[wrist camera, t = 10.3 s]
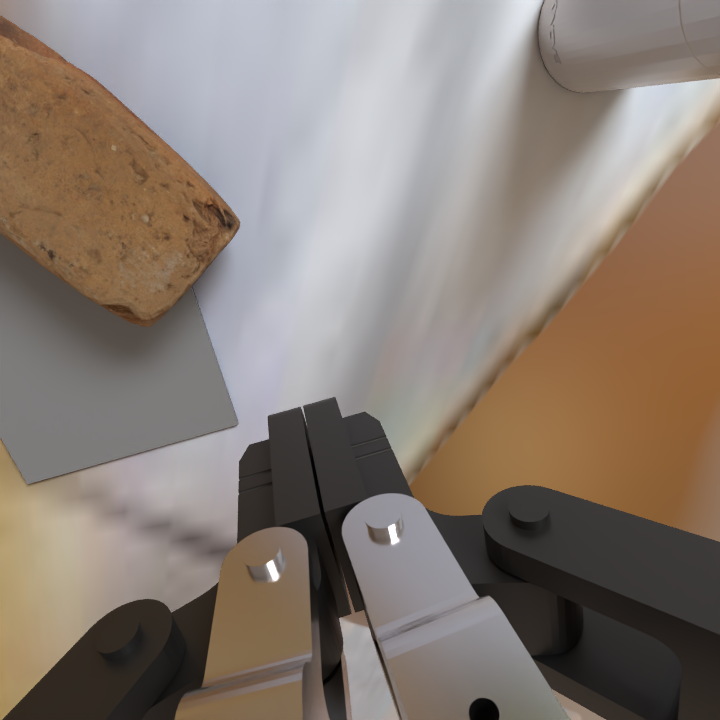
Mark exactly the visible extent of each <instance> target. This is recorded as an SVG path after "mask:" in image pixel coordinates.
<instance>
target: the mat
mask: <svg viewBox="0 0 720 720" xmlns="http://www.w3.org/2000/svg"><path fill="white" fill-rule="evenodd" d="M235 425H238V420H237V417H236V414H235V411H234V408H233V405H232V402H231V399H230V396H229V393H228V390H227V388H226V385H225V382H224V379H223V376H222V373H221V370H220V367H219V364H218V361H217V358H216V355H215V352H214V350H213V347H212V344H211V341H210V338H209V335H208V332H207V329H206V326H205V323H204V320H203V317H202V314H201V311H200V309H199V306H198V303H197V300H196V297H195V294H194V291H193V288H192V286H191V287H190V289H189V290H188V291H187V292H186V293H185V294H184V295H183V297H182V298H181V299H180V300H179V301H178V302H177V303H176V304H175V305H174V306H173V307H171V308H170V309H169V311H168V312H167V313H166V314H165V315H164V316H163V317H162V318H161V319H160V320H158V321H157V322H156V323H154V324H153V325H152V326H150V327H142V326H140V325H136V324H132V323H130V322H128V321H126V320H124V319H123V318H121V317H119V316H117V315H115V314H113V313H112V312H110V311H108V310H107V309H105V308H104V307H102V306H100V305H98V304H96V303H95V302H93V301H91V300H89V299H88V298H87V297H85V296H84V295H82V294H81V293H80V292H78V291H77V290H75V289H74V288H73V287H71V286H70V285H68V284H67V283H65V282H64V281H62V280H61V279H60V278H58V277H57V276H55V275H54V274H53V273H51V272H50V271H48V270H47V269H46V268H44V267H43V266H41V265H40V264H39V263H37V262H36V261H35V260H34V259H33V258H32V257H30V256H29V255H27V254H26V253H25V252H23V251H22V250H21V249H20V248H19V247H18V246H16V245H15V244H14V243H12V242H11V241H9V240H8V239H7V238H5V237H4V236H3V235H2V234H1V233H0V438H1V439H2V441H3V443H4V445H5V446H6V448H7V450H8V451H9V453H10V455H11V457H12V458H13V460H14V462H15V464H16V465H17V467H18V469H19V470H20V472H21V474H22V476H23V477H24V479H25V481H26V483H27V484H30V483H34V482H38V481H41V480H45V479H48V478H52V477H55V476H59V475H62V474H66V473H69V472H73V471H76V470H80V469H83V468H87V467H90V466H94V465H98V464H101V463H105V462H108V461H112V460H115V459H119V458H122V457H126V456H129V455H133V454H136V453H140V452H143V451H147V450H151V449H154V448H158V447H161V446H165V445H168V444H172V443H175V442H179V441H182V440H186V439H189V438H193V437H196V436H200V435H203V434H207V433H211V432H214V431H218V430H221V429H225V428H228V427H232V426H235Z"/></svg>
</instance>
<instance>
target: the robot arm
mask: <svg viewBox="0 0 720 720" xmlns="http://www.w3.org/2000/svg"><path fill="white" fill-rule="evenodd" d="M538 39H539V47H540V53H541V56H542V59H543V62H544V65H545V66H546V68H547V70H548V72H549V73H550V75H551V76H552V77H553V78H554V79H555V80H556V82H557V83H558V84H560V85H562V86H563V87H565V88H566V89H569V90H572V91H575V92H597V91H606V90H615V89H626V88H635V87H644V86H653V85H662V84H671V83H680V82H689V81H698V80H707V79H716V78H720V0H545V1H544V4H543V6H542V10H541V15H540V20H539V33H538ZM303 408H304V413H305V418H306V422H305V418H304V415H303V412H302V409H301V407H298V408H294V409H291V410H287V411H283V412H280V413H276V414H273V415H269V416H268V428H269V439H268V440H265V441H261V442H257V443H254V444H250V445H249V446H248V448H247V450H246V451H245V453H244V455H243V456H242V458H241V460H240V461H239V480H240V481H239V495H238V537H237V544H236V545H235V546H234V547H233V548H232V550H231V551H230V552H229V553H228V555H227V556H226V558H225V559H224V562H223V564H222V567H221V571H220V577H219V582H218V583H217V584H216V585H215V586H214V587H212V588H211V589H210V590H209V591H207V592H206V593H204V594H203V595H201V596H200V597H198V598H196V599H194V600H193V601H191V602H189V603H188V604H186V605H184V606H182V607H181V608H179V609H177V610H176V611H174V612H172V613H171V612H170V610H169V609H168V607H167V606H166V605H165V604H164V603H162V602H160V601H157V600H153V599H143V600H137V601H133V602H130V603H127V604H125V605H122V606H120V607H118V608H116V609H114V610H113V611H111V612H110V613H108V614H107V615H105V616H104V617H103V618H101V619H100V620H99V621H98V622H97V623H96V624H94V625H93V626H92V627H91V628H90V629H89V630H88V631H87V632H86V633H85V635H84V636H83V637H82V638H81V639H80V640H79V641H78V642H77V643H76V644H75V645H74V646H73V647H72V648H71V649H70V650H69V651H68V652H67V653H66V654H65V655H64V656H63V657H62V658H61V659H60V660H59V661H58V663H57V664H56V665H55V666H54V667H53V668H52V669H51V670H50V671H49V672H48V673H47V674H46V675H45V676H44V677H43V678H42V679H41V680H40V681H39V682H38V683H37V684H36V685H35V686H34V687H33V688H32V689H31V690H30V692H29V693H28V694H27V695H26V696H25V697H24V698H23V699H22V700H21V701H20V702H19V703H18V704H17V705H16V706H15V707H14V708H13V709H12V710H11V711H10V712H9V713H8V714H7V715H6V716H5V717H4V718H3V720H352V713H351V703H350V694H349V684H348V674H347V664H346V659H345V655H344V652H343V637H342V632H341V626H340V621H339V618H340V617H344V616H347V615H350V614H351V609H350V604H349V600H348V595H347V590H346V586H345V581H346V584H347V587H348V590H349V594H350V597H351V600H352V604H353V607H354V610H355V612H358V611H362V610H364V611H365V615H366V618H367V622H368V625H369V628H370V631H371V635H372V639H373V642H374V645H375V649H376V652H377V655H378V658H379V661H380V664H381V667H382V670H383V673H384V676H385V679H386V682H387V685H388V688H389V691H390V694H391V697H392V700H393V703H394V706H395V709H396V712H397V715H398V718H399V720H570V718H569V716H568V715H567V713H566V712H565V710H564V708H563V707H562V705H561V704H560V702H559V700H558V699H557V697H556V696H555V694H554V693H553V691H552V689H553V690H555V691H557V692H558V693H560V694H562V695H564V696H566V697H567V698H569V699H571V700H573V701H574V702H576V703H578V704H580V705H581V706H583V707H585V708H587V709H589V710H590V711H592V712H594V713H596V714H597V715H599V716H601V717H603V718H605V719H606V720H720V542H718V541H715V540H712V539H708V538H705V537H702V536H699V535H695V534H692V533H689V532H686V531H683V530H679V529H677V528H673V527H670V526H667V525H664V524H661V523H657V522H654V521H651V520H648V519H645V518H642V517H638V516H635V515H632V514H629V513H626V512H622V511H619V510H616V509H613V508H610V507H606V506H603V505H600V504H597V503H593V502H590V501H587V500H584V499H581V498H577V497H574V496H571V495H568V494H565V493H562V492H559V491H555V490H552V489H549V488H545V487H541V486H531V485H525V486H516V487H511V488H508V489H505V490H503V491H501V492H499V493H497V494H496V495H494V496H493V497H492V498H491V499H490V500H489V501H488V502H487V503H486V505H485V507H484V509H483V512H482V515H469V516H449V515H443V514H439V513H435V512H433V511H430V510H428V509H426V508H424V506H423V505H422V504H421V503H420V502H419V501H418V500H416V499H415V498H414V496H413V495H412V493H411V490H410V488H409V486H408V484H407V481H406V479H405V477H404V475H403V473H402V470H401V468H400V466H399V464H398V461H397V459H396V457H395V455H394V453H393V450H392V449H391V446H390V444H389V441H388V439H387V438H386V435H385V433H384V430H383V428H382V426H381V424H380V421H378V420H377V419H375V418H374V417H372V416H370V415H369V414H367V413H366V412H362V413H359V414H355V415H352V416H348V417H345V418H342V416H341V413H340V410H339V407H338V404H337V401H336V398H335V397H333V398H329V399H326V400H322V401H319V402H315V403H312V404H308V405H304V406H303ZM306 423H307V425H306ZM342 571H343V572H342ZM343 574H344V576H343ZM344 577H345V581H344Z"/></svg>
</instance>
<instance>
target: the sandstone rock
mask: <svg viewBox="0 0 720 720" xmlns="http://www.w3.org/2000/svg"><path fill="white" fill-rule="evenodd" d="M239 226H240V221H239V219H238V218H237V216H236V215H235V214H234V212H233V211H232V209H231V208H230V207H229V206H228V205H227V203H226V202H225V201H224V200H223V199H222V198H221V197H220V196H219V194H218V193H217V192H216V191H215V190H214V189H213V188H212V187H211V186H210V185H209V184H208V183H207V182H206V181H205V180H204V179H203V178H202V177H201V176H200V175H199V174H198V173H197V172H196V171H195V170H194V169H193V168H192V167H191V166H190V165H189V164H188V163H187V162H186V161H185V160H184V159H183V158H182V157H181V156H180V155H179V154H178V153H177V152H175V151H174V150H173V149H172V148H171V147H170V146H169V145H168V144H167V143H166V142H165V141H163V140H162V139H161V138H160V137H159V136H158V135H157V134H156V133H155V132H154V131H152V130H151V129H150V128H149V127H148V126H147V125H146V124H145V123H144V122H143V121H142V120H141V119H139V118H138V117H137V116H136V115H135V114H134V113H133V112H132V111H131V110H129V109H128V108H127V107H126V106H125V105H124V104H123V103H122V102H121V101H120V100H118V99H117V98H116V97H115V96H114V95H113V94H112V93H111V92H110V91H108V90H107V89H106V88H105V87H104V86H103V85H102V84H100V83H99V82H98V81H97V80H96V79H94V78H93V77H91V76H90V75H88V74H87V73H85V72H84V71H82V70H80V69H79V68H77V67H75V66H74V65H72V64H71V63H69V62H67V61H66V60H65V59H64V58H63V57H61V56H60V55H59V54H58V53H56V52H55V51H54V50H52V49H51V48H49V47H48V46H47V45H45V44H44V43H42V42H41V41H39V40H38V39H37V38H35V37H34V36H32V35H30V34H29V33H27V32H25V31H23V30H22V29H20V28H19V27H18V26H17V25H15V24H13V23H12V22H10V21H8V20H7V19H5V18H3V17H2V16H0V233H1V234H2V235H3V236H4V237H5V238H7V239H8V240H9V241H11V242H12V243H14V244H15V245H16V246H18V247H19V248H20V249H21V250H22V251H23V252H25V253H26V254H27V255H29V256H30V257H32V258H33V259H34V260H35V261H36V262H37V263H39V264H40V265H41V266H43V267H44V268H46V269H47V270H48V271H50V272H51V273H53V274H54V275H55V276H57V277H58V278H60V279H61V280H62V281H64V282H65V283H67V284H68V285H70V286H71V287H73V288H74V289H75V290H77V291H78V292H80V293H81V294H82V295H84V296H85V297H87V298H88V299H89V300H91V301H93V302H95V303H96V304H98V305H100V306H102V307H104V308H105V309H107V310H108V311H110V312H112V313H113V314H115V315H117V316H119V317H121V318H123V319H124V320H126V321H128V322H130V323H132V324H136V325H140V326H142V327H150V326H152V325H153V324H154V323H156V322H157V321H158V320H160V319H161V318H162V317H163V316H164V315H165V314H166V313H167V312H168V311H169V309H170V308H171V307H173V306H174V305H175V304H176V303H177V302H178V301H179V300H180V299H181V298H182V297H183V295H184V294H185V293H186V292H187V291H188V290H189V289H190V287H191V286H192V285H193V284H194V283H195V282H196V280H197V279H198V278H199V277H200V276H201V275H202V273H203V272H204V271H205V269H206V268H207V267H208V266H209V265H210V264H211V263H212V262H213V260H214V259H215V258H216V257H217V255H218V254H219V253H220V252H221V251H222V250H223V249H224V248H225V247H226V246H227V244H228V243H229V242H230V241H231V240H232V239H233V237H234V236H235V234H236V232H237V231H238V229H239Z"/></svg>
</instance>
